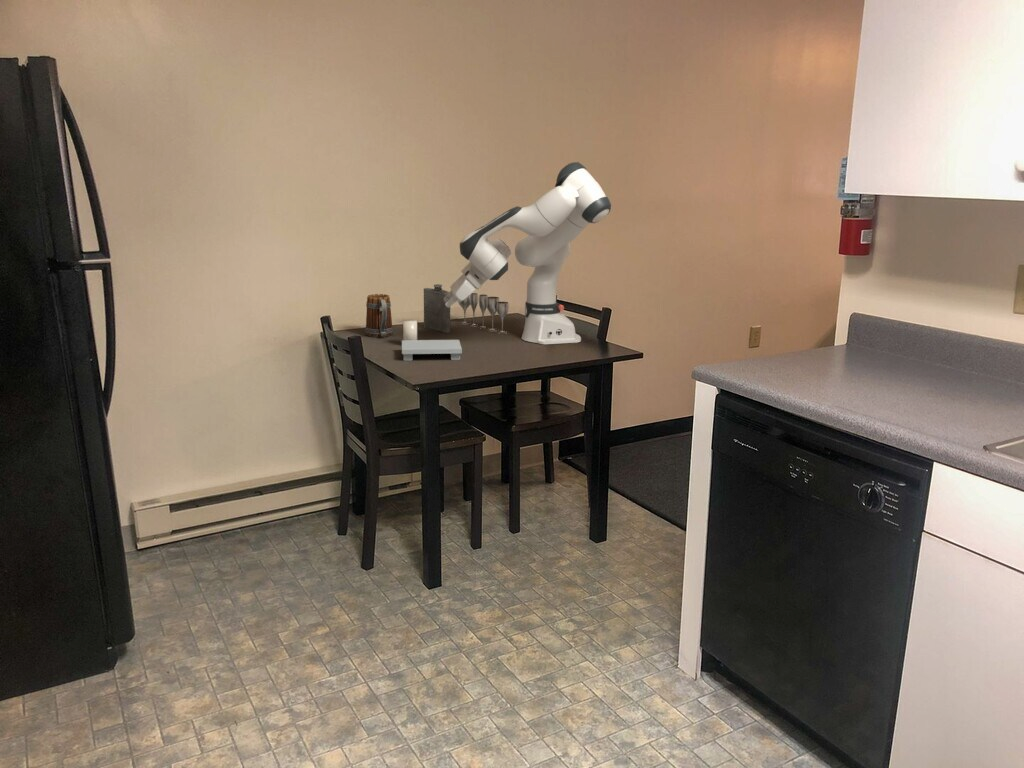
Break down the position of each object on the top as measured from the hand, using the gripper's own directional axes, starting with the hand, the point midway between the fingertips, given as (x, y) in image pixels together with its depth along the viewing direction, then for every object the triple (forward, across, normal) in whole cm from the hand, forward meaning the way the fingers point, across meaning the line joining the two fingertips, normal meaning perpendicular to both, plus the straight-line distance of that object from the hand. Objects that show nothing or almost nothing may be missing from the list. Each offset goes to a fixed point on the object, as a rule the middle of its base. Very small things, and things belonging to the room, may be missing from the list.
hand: (445, 303), depth 290 cm
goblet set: (-1, -30, +23) cm, 38 cm away
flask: (+12, -26, +10) cm, 30 cm away
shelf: (+15, +16, +7) cm, 23 cm away
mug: (+28, -16, -6) cm, 33 cm away
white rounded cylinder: (+20, 0, +2) cm, 20 cm away
